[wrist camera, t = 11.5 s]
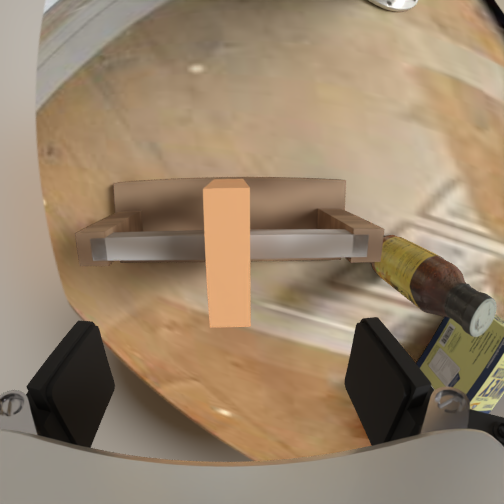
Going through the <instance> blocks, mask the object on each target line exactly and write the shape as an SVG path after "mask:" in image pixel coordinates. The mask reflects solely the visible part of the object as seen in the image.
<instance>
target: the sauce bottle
mask: <svg viewBox="0 0 504 504" xmlns="http://www.w3.org/2000/svg"><path fill="white" fill-rule="evenodd" d="M371 264H372V267H373V269H374V271H375V272H376V273H377V274H378V275H379V276H380V277H381V278H382V279H383V280H385V281H386V282H387V283H388V284H390V285H391V286H392V287H393V288H395V289H396V290H397V291H398V292H400V293H401V294H402V295H403V296H405V297H406V298H407V299H408V300H410V301H411V302H412V303H413V304H415V305H416V306H417V307H418V308H420V309H421V310H422V311H424V312H426V313H431V314H436V315H440V316H445V317H449V318H450V319H453V320H454V321H455V322H456V323H458V324H459V325H460V326H461V327H462V329H463V330H464V332H466V333H468V334H469V335H470V336H472V337H478V336H480V335H482V334H483V333H484V332H485V331H486V330H487V329H488V328H489V326H490V325H491V323H492V322H493V319H494V317H495V314H496V302H495V300H494V299H493V298H491V297H490V296H488V295H487V294H485V293H481V292H478V291H476V290H475V289H473V288H471V286H470V285H469V284H466V283H465V281H464V278H463V275H462V273H461V271H460V270H459V269H458V268H457V267H456V266H455V265H453V264H452V263H450V262H448V261H446V260H444V259H443V258H442V257H440V256H438V255H436V254H434V253H432V252H430V251H428V250H426V249H424V248H422V247H420V246H418V245H416V244H414V243H412V242H410V241H408V240H406V239H404V238H401V237H397V236H394V235H389V236H385V237H384V238H383V246H382V254H381V262H371Z"/></svg>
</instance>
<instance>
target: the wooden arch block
mask: <svg viewBox="0 0 504 504" xmlns="http://www.w3.org/2000/svg"><path fill="white" fill-rule="evenodd" d="M203 209H204V236H205V257H206V276H207V292H208V307H209V321H210V327H250V326H251V310H250V187H249V186H248V185H247V183H246V182H245V180H244V179H214V180H213V181H211V182H210V183H209V184H208V185H207V186H206V187H204V188H203Z"/></svg>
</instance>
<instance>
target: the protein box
mask: <svg viewBox="0 0 504 504" xmlns="http://www.w3.org/2000/svg"><path fill="white" fill-rule="evenodd" d="M416 364H417V366H418V367H419V368H420V369H421V371H422V372H423V373H424V374H425V376H426V377H427V378H428V379H429V381H430V382H431V383H432V384H431V385H432V387H433V388H434V389H435V390H436V389H438V388H440V387H454V388H456V389H459V390H461V391H462V392H464V393H465V394H466V395H467V397H468V399H469V401H470V409H472V410H476V411H480V412H483V413H487V414H489V412H490V411H491V410H492V409H493V407H494V406H495V405H496V403H497V402H498V401H499V399H500V398H501V396H502V395H503V394H504V320H502V319H501V318H500V317H498V316H497V315H495V317H494V319H493V322H492V323H491V325H490V326H489V328H488V329H487V330H486V331H485V332H484V333H483V334H482V335H480V336H478V337H472V336H470V335H469V334H468V333H466V332H464V330H463V329H462V327H461V326H460V325H459V324H458V323H456V322H455V321H454V320H453V319H450V318H449V317H444V319H443V321H442V323H441V324H440V326H439V328H438V330H437V331H436V333H435V335H434V336H433V338H432V340H431V341H430V343H429V345H428V346H427V348H426V349H425V351H424V352H423V354H422V356H421V357H420V359H419V360H418V362H417V363H416Z"/></svg>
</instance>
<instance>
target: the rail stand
mask: <svg viewBox="0 0 504 504" xmlns="http://www.w3.org/2000/svg"><path fill="white" fill-rule="evenodd" d="M214 179H244V180H245V182H246V183H247V185H248V186H249V187H250V261H291V260H340V259H341V257H345V258H346V259H347V260H348V261H350V262H351V263H356V262H381V254H382V246H383V237H384V229H383V228H381V227H379V226H377V225H375V224H373V223H370V222H368V221H366V220H364V219H362V218H360V217H358V216H356V215H353V214H351V213H349V212H347V211H345V192H346V180H338V179H317V178H285V177H213V178H181V179H160V180H143V181H129V182H117V183H114V200H115V214H113V215H111V216H109V217H106V218H104V219H102V220H100V221H98V222H96V223H94V224H92V225H90V226H88V227H86V228H84V229H82V230H81V231H79V232H77V233H75V236H76V244H77V251H78V258H79V264H80V266H109V265H110V264H111V263H112V262H113V261H114V260H120V263H131V262H206V257H205V236H204V209H203V188H204V187H206V186H207V185H208V184H209V183H210V182H211V181H213V180H214Z"/></svg>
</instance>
